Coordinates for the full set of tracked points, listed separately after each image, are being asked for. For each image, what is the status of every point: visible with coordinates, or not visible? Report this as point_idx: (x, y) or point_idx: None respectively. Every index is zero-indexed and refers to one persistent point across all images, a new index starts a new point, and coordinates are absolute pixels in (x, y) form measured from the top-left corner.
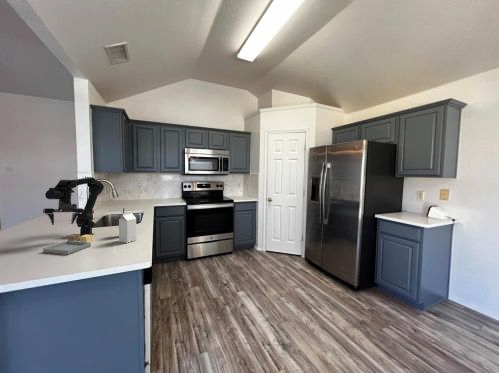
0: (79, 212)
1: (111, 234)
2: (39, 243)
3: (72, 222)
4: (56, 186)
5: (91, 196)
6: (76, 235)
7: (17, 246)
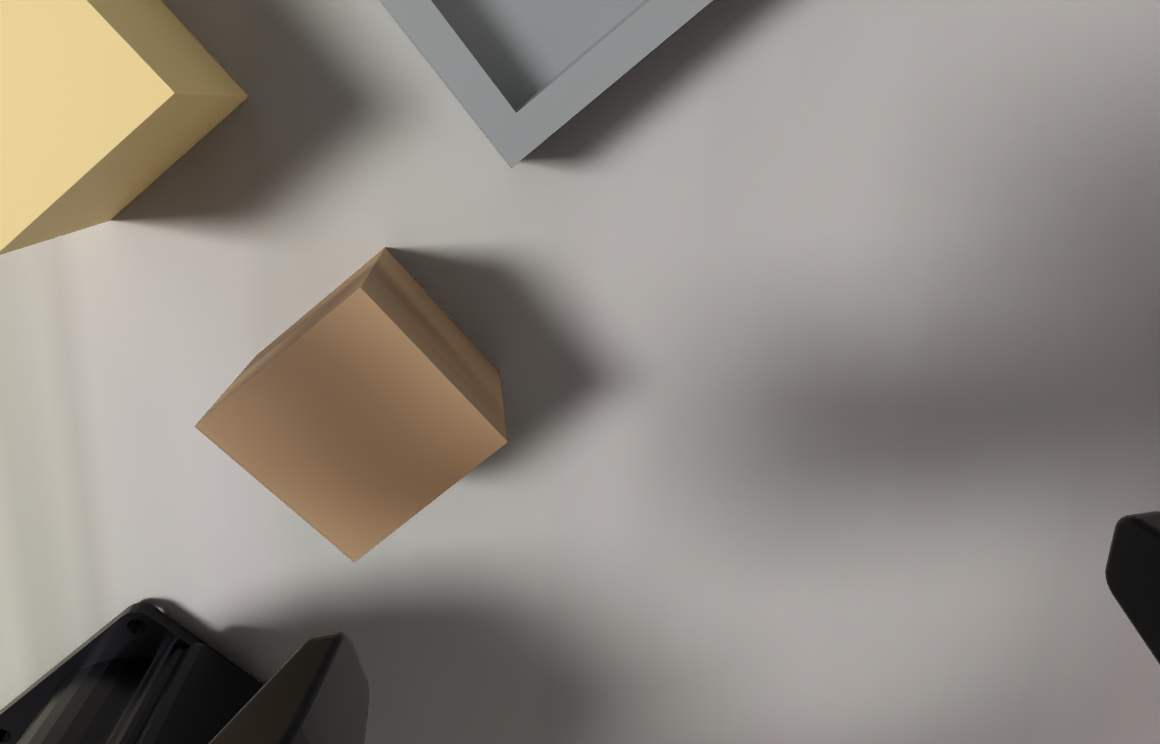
0: None
1: None
2: (890, 559)
3: (294, 701)
4: None
5: None
6: (292, 343)
7: None
